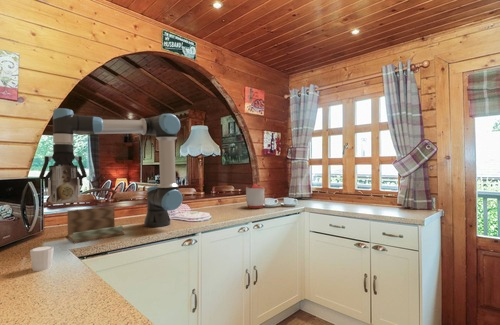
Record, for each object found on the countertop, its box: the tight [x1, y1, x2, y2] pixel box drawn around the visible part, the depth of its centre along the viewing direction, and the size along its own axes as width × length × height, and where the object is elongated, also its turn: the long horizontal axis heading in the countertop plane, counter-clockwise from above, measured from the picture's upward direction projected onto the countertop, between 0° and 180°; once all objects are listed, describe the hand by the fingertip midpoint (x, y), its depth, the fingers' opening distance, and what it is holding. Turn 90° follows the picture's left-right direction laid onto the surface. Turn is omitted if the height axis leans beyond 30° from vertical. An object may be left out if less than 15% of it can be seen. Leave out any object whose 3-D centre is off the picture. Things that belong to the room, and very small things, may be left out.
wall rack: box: [66, 205, 125, 244], centre depth 143 cm, size 22×18×13 cm
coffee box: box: [48, 164, 79, 204], centre depth 123 cm, size 9×6×16 cm
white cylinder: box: [29, 245, 55, 272], centre depth 99 cm, size 7×7×7 cm
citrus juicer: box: [245, 183, 265, 210], centre depth 228 cm, size 16×17×20 cm
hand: (64, 194), depth 123 cm, fingers closed on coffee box, 10 cm apart
